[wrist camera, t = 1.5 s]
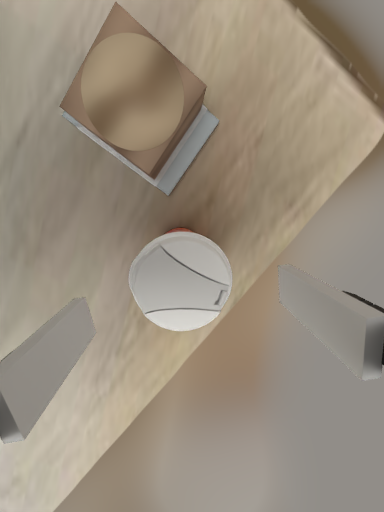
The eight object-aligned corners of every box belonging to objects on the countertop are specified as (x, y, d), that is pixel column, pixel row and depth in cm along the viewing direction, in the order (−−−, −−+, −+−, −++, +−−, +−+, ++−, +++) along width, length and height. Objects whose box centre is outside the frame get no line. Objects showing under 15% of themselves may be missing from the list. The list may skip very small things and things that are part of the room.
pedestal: (83, 126, 24) (58, 105, 19) (129, 46, 22) (115, 0, 17) (154, 180, 26) (148, 174, 21) (200, 109, 24) (206, 85, 19)
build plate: (67, 120, 24) (61, 116, 23) (115, 32, 23) (112, 22, 22) (168, 196, 27) (167, 196, 26) (218, 123, 26) (219, 119, 24)
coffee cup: (215, 228, 29) (252, 251, 14) (199, 280, 31) (217, 346, 16) (158, 212, 28) (137, 219, 13) (145, 266, 30) (113, 324, 15)
